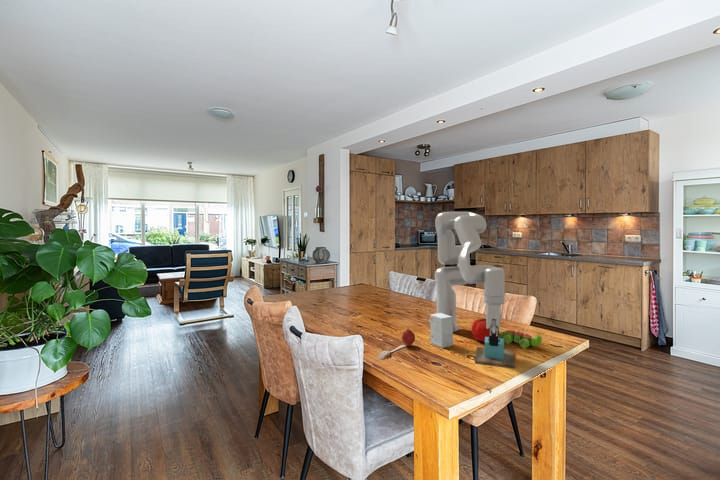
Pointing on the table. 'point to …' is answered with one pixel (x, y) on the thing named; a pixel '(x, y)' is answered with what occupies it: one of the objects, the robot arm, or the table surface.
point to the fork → (391, 351)
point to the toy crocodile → (520, 338)
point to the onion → (408, 337)
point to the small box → (441, 330)
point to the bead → (494, 349)
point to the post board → (505, 362)
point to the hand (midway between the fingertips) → (493, 341)
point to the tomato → (480, 330)
